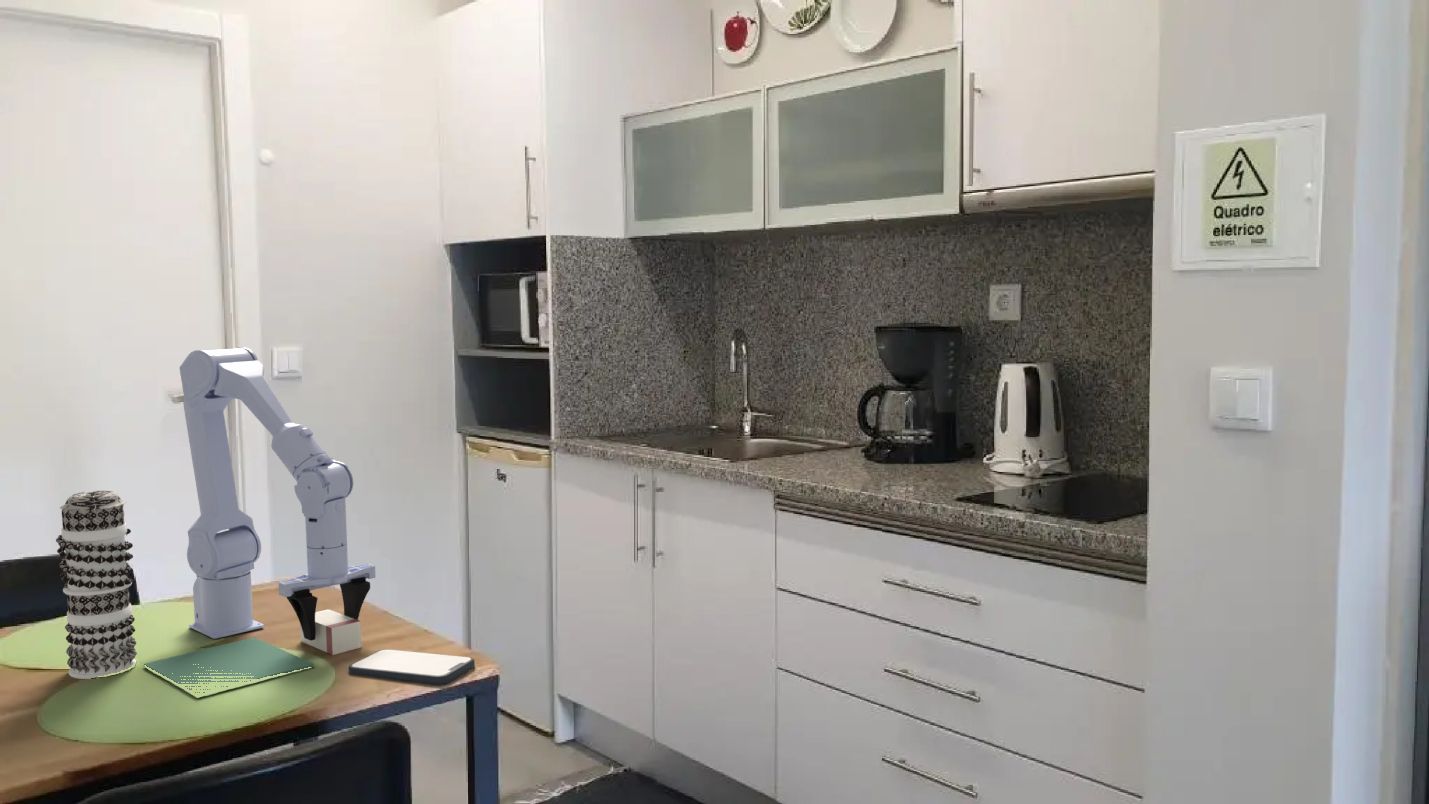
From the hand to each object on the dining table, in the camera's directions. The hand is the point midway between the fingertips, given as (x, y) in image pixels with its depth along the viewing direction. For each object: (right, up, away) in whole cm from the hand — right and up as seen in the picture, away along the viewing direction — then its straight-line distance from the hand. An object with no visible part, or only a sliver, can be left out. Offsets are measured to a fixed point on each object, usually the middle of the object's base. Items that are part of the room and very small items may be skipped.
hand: (330, 633), depth 167 cm
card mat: (-11, -3, -10) cm, 15 cm away
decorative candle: (-29, -3, -10) cm, 30 cm away
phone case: (+15, -3, -11) cm, 19 cm away
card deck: (0, -2, 0) cm, 2 cm away
